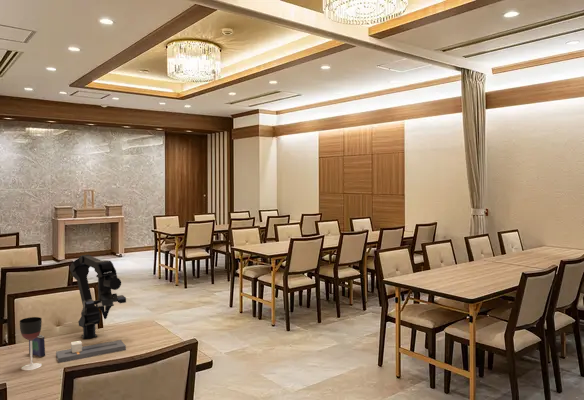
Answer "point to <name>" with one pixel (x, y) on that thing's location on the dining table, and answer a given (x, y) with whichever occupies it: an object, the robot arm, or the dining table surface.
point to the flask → (38, 346)
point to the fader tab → (76, 346)
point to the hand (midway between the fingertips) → (105, 318)
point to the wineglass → (31, 336)
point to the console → (91, 351)
